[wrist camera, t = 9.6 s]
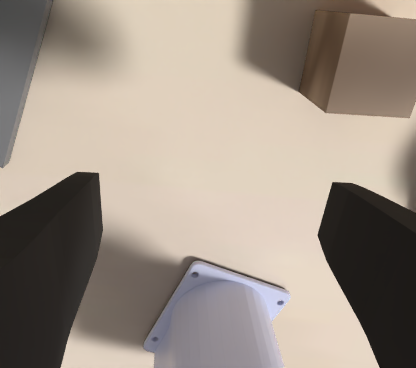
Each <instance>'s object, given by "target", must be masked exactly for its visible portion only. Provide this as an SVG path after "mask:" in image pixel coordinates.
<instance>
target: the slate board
mask: <svg viewBox="0 0 416 368" xmlns="http://www.w3.org/2000/svg"><path fill="white" fill-rule="evenodd" d="M52 3H53V0H0V167H1V168H3V167H5V166H6V165H7V164H8V163H9V161H10V157H11V153H12V150H13V146H14V142H15V139H16V135H17V131H18V128H19V124H20V120H21V116H22V113H23V109H24V105H25V102H26V98H27V94H28V91H29V87H30V83H31V80H32V76H33V72H34V69H35V65H36V61H37V58H38V54H39V50H40V47H41V43H42V39H43V36H44V32H45V28H46V25H47V21H48V17H49V14H50V10H51V6H52Z"/></svg>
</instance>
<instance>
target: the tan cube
mask: <svg viewBox="0 0 416 368" xmlns="http://www.w3.org/2000/svg"><path fill="white" fill-rule="evenodd" d="M299 92H300V93H301V94H302V95H303V96H305V97H306V98H307V99H309V100H310V101H311V102H312V103H314V104H315V105H316V106H318V107H319V108H320V109H321V110H323V111H324V112H325V113H335V114H351V115H367V116H383V117H399V118H410V116H411V113H412V110H413V107H414V105H415V102H416V19H407V18H396V17H386V16H375V15H364V14H354V13H343V12H331V11H320V10H316V11H315V15H314V20H313V25H312V30H311V35H310V40H309V45H308V50H307V55H306V60H305V65H304V69H303V74H302V79H301V84H300V89H299Z"/></svg>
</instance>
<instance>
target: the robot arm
mask: <svg viewBox="0 0 416 368" xmlns="http://www.w3.org/2000/svg"><path fill="white" fill-rule="evenodd" d="M102 232H103V225H102V211H101V197H100V183H99V173H90V172H76V173H74V174H72V175H71V176H69V177H67V178H65V179H64V180H62V181H61V182H59V183H57V184H56V185H54V186H53V187H51V188H49V189H48V190H46V191H44V192H43V193H41V194H39V195H38V196H36V197H34V198H33V199H31V200H29V201H27V202H26V203H24V204H22V205H20V206H18V207H16V208H15V209H13V210H11V211H9V212H7V213H6V214H4V215H2V216H0V368H60V367H61V364H62V360H63V356H64V352H65V348H66V344H67V340H68V337H69V334H70V330H71V327H72V324H73V321H74V319H75V316H76V313H77V311H78V308H79V305H80V303H81V300H82V297H83V295H84V292H85V289H86V286H87V284H88V281H89V278H90V276H91V273H92V270H93V267H94V265H95V262H96V259H97V255H98V251H99V246H100V242H101V237H102ZM318 238H319V241H320V244H321V247H322V250H323V252H324V255H325V258H326V260H327V263H328V264H329V266H330V268H331V270H332V272H333V274H334V276H335V278H336V280H337V282H338V283H339V285H340V287H341V289H342V291H343V292H344V294H345V296H346V298H347V300H348V302H349V303H350V305H351V307H352V309H353V311H354V313H355V314H356V316H357V318H358V320H359V322H360V324H361V326H362V328H363V330H364V332H365V334H366V336H367V338H368V341H369V343H370V346H371V348H372V350H373V353H374V355H375V358H376V360H377V362H378V365H379V367H380V368H416V213H415V212H413V211H411V210H409V209H407V208H405V207H403V206H401V205H399V204H397V203H395V202H393V201H391V200H389V199H387V198H385V197H383V196H381V195H379V194H376V193H374V192H372V191H370V190H368V189H366V188H363V187H361V186H358V185H356V184H353V183H340V182H332V186H331V189H330V193H329V197H328V200H327V204H326V207H325V211H324V214H323V218H322V221H321V225H320V228H319V232H318ZM193 272H197V273H196V274H193ZM290 298H291V297H290V293H289V291H287V290H285V289H282V288H279V287H276V286H273V285H270V284H267V283H264V282H261V281H258V280H255V279H252V278H249V277H246V276H243V275H241V274H238V273H235V272H232V271H229V270H226V269H223V268H220V267H217V266H214V265H211V264H208V263H205V262H202V261H195V262H193V263H192V264H191V265H190V267H189V269H188V270H187V272H186V274H185V275H184V277H183V279H182V280H181V282H180V284H179V285H178V287H177V289H176V290H175V292H174V294H173V295H172V297H171V299H170V300H169V302H168V303H167V305H166V307H165V308H164V310H163V312H162V313H161V315H160V317H159V318H158V320H157V322H156V323H155V325H154V327H153V328H152V330H151V332H150V333H149V335H148V337H147V338H146V340H145V341H144V346H143V347H144V349H145V350H146V351H149V352H153V353H155V356H154V368H285V366H284V363H283V359H282V356H281V353H280V349H279V346H278V342H277V339H276V335H275V332H274V328H273V325H272V321H273V320H274V318H275V317H276V316H277V315H278V313H279V312H280V311H281V310H282V308H283V307H284V306H285V305H286V303H287V302H288V301H289V300H290ZM280 300H281V301H280Z"/></svg>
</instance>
